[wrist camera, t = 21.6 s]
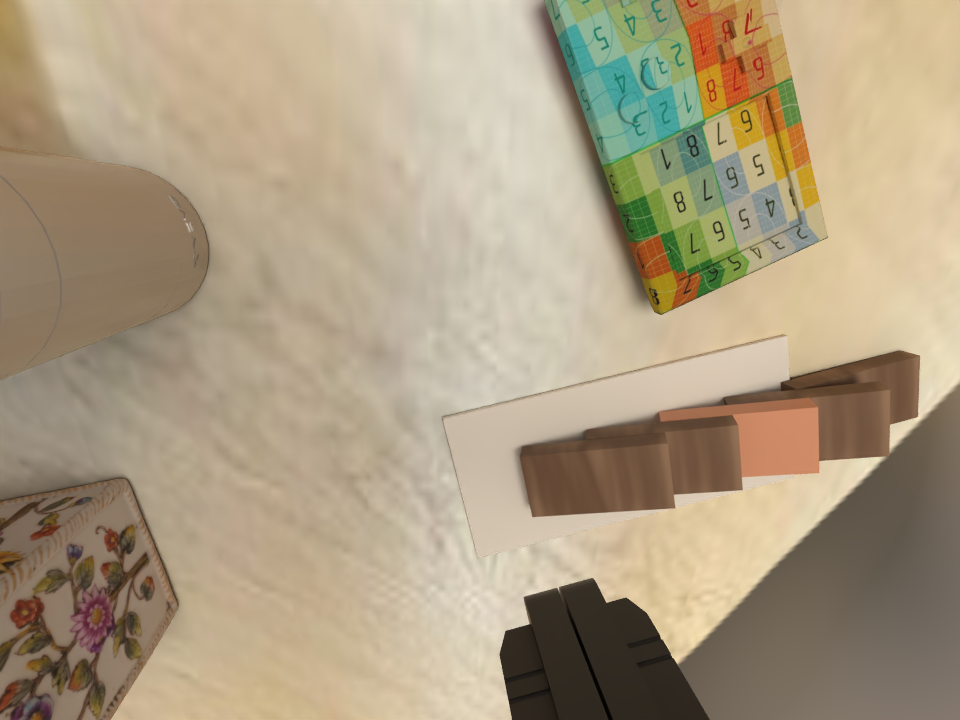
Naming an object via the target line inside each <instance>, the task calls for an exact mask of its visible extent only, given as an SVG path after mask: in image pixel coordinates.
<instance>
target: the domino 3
mask: <svg viewBox="0 0 960 720" xmlns="http://www.w3.org/2000/svg"><path fill="white" fill-rule="evenodd" d="M728 415H733V417H734V419H735V420H736V422H737V424H738V428H739V443H740V457H741V471H742V477H756V476H773V475H790V474H808V473H819V426H818V406H817V405H816V404H815V403H814V402H813V401H812V400H811V399H810V398H801V399H790V400H779V401H768V402H757V403H746V404H735V405H724V406H714V407H703V408H692V409H681V410H670V411H659V419H660V422H667V421H677V420H687V419H697V418H707V417H718V416H728Z"/></svg>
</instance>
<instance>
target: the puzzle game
mask: <svg viewBox="0 0 960 720" xmlns="http://www.w3.org/2000/svg"><path fill="white" fill-rule="evenodd" d="M544 2H545V4H546V7H547V10H548V13H549V16H550V19H551V22H552V24H553V27H554V30H555V33H556V36H557V39H558V41H559V44H560V47H561V50H562V53H563V56H564V59H565V61H566V64H567V67H568V70H569V73H570V76H571V79H572V81H573V84H574V87H575V90H576V93H577V96H578V99H579V101H580V104H581V107H582V110H583V113H584V116H585V118H586V121H587V124H588V127H589V130H590V133H591V136H592V138H593V141H594V144H595V147H596V150H597V153H598V156H599V158H600V161H601V164H602V167H603V170H604V173H605V176H606V178H607V181H608V184H609V187H610V190H611V193H612V196H613V198H614V201H615V204H616V207H617V210H618V213H619V215H620V218H621V221H622V224H623V227H624V230H625V233H626V235H627V238H628V241H629V244H630V247H631V250H632V253H633V255H634V258H635V261H636V264H637V267H638V270H639V273H640V275H641V278H642V281H643V284H644V287H645V290H646V292H647V295H648V298H649V301H650V304H651V306H652V308H653V310H654V312H656V313H658V314H660V315H662V314H664V313H666V312H668V311H671V310H673V309H675V308H677V307H679V306H681V305H684V304H686V303H688V302H690V301H692V300H694V299H696V298H699V297H701V296H703V295H705V294H707V293H709V292H712V291H714V290H716V289H718V288H720V287H722V286H725V285H727V284H729V283H731V282H733V281H735V280H737V279H740V278H742V277H744V276H746V275H748V274H750V273H753V272H755V271H757V270H759V269H761V268H763V267H766V266H768V265H770V264H772V263H774V262H776V261H778V260H781V259H783V258H785V257H787V256H789V255H791V254H794V253H796V252H798V251H800V250H802V249H804V248H807V247H809V246H811V245H813V244H815V243H817V242H819V241H822V240H824V239H826V238H828V236H827V231H826V227H825V223H824V218H823V214H822V210H821V205H820V201H819V197H818V192H817V188H816V184H815V179H814V175H813V170H812V166H811V161H810V157H809V152H808V148H807V143H806V139H805V134H804V130H803V125H802V120H801V116H800V111H799V107H798V102H797V98H796V93H795V89H794V84H793V80H792V75H791V71H790V66H789V62H788V57H787V53H786V48H785V43H784V39H783V34H782V30H781V25H780V21H779V16H778V12H777V7H776V3H775V0H544Z"/></svg>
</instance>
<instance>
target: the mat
mask: <svg viewBox="0 0 960 720" xmlns="http://www.w3.org/2000/svg"><path fill="white" fill-rule="evenodd" d="M787 380H790V376H789V353H788V336H787V335H780V336H776V337H772V338H768V339H764V340H759V341H755V342H751V343H747V344H743V345H739V346H735V347H730V348H726V349H722V350H718V351H714V352H710V353H706V354H701V355H697V356H693V357H689V358H685V359H681V360H677V361H672V362H668V363H664V364H660V365H656V366H652V367H647V368H643V369H639V370H635V371H631V372H627V373H623V374H618V375H614V376H610V377H606V378H602V379H598V380H594V381H589V382H585V383H581V384H577V385H573V386H569V387H565V388H560V389H556V390H552V391H548V392H544V393H540V394H536V395H531V396H527V397H523V398H519V399H515V400H511V401H507V402H502V403H498V404H494V405H490V406H486V407H482V408H477V409H473V410H469V411H465V412H461V413H457V414H453V415H448V416H444V417H442V418H443V423H444V427H445V431H446V435H447V438H448V442H449V446H450V450H451V454H452V458H453V462H454V466H455V470H456V474H457V478H458V482H459V486H460V490H461V494H462V497H463V501H464V505H465V509H466V513H467V517H468V521H469V525H470V529H471V533H472V537H473V541H474V545H475V549H476V552H477V556H478V558H480V557H484V556H488V555H492V554H496V553H500V552H504V551H508V550H512V549H516V548H520V547H524V546H528V545H532V544H535V543H539V542H543V541H547V540H551V539H555V538H559V537H563V536H567V535H571V534H575V533H579V532H583V531H587V530H591V529H595V528H599V527H603V526H606V525H610V524H614V523H618V522H622V521H626V520H630V519H634V518H638V517H642V516H646V515H650V514H654V513H658V512H662V511H666V510H670V509H656V510H640V511H624V512H608V513H592V514H576V515H560V516H544V517H532V514H531V509H530V504H529V499H528V495H527V490H526V485H525V481H524V476H523V471H522V466H521V462H520V453H521V449H522V446H531V445H541V444H551V443H561V442H572V441H582V440H586V434H587V429H596V428H606V427H616V426H626V425H636V424H646V423H657V422H660V419H659V411H670V410H681V409H692V408H703V407H714V406H724V405H725V404H724V397H729V396H739V395H749V394H759V393H769V392H778V391H781V382H783V381H787ZM792 478H794V474H790V475H773V476H756V477H742V486H743V490H739V491H724V492H709V493H693V494H678V495H674V500H675V508H677V507H681V506H685V505H689V504H693V503H697V502H701V501H705V500H709V499H713V498H717V497H721V496H725V495H729V494H733V493H737V492H741V491H744V490H748V489H752V488H756V487H760V486H764V485H768V484H772V483H776V482H780V481H784V480H788V479H792ZM672 509H673V508H672Z"/></svg>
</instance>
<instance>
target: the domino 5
mask: <svg viewBox="0 0 960 720" xmlns="http://www.w3.org/2000/svg"><path fill="white" fill-rule="evenodd" d="M919 370H920V356H919V355H915V354H911V353H908V352H904V351H897V352H893V353H889V354H885V355H881V356H878V357H874V358H870V359H866V360H862V361H859V362H855V363H851V364H847V365H844V366H840V367H836V368H832V369H828V370H825V371H821V372H817V373H813V374H809V375H806V376H802V377H798V378H794V379H791V380H787V381H783V382H781V391H788V390H798V389H808V388H818V387H827V386H837V385H847V384H857V383H866V382H876V381H879V382H880V383H882V384H883V385H884V386H886V387H887V388H888V389H890V424H894V423H898V422H901V421H905V420H908V419H912V418H916V417H918V397H919Z"/></svg>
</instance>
